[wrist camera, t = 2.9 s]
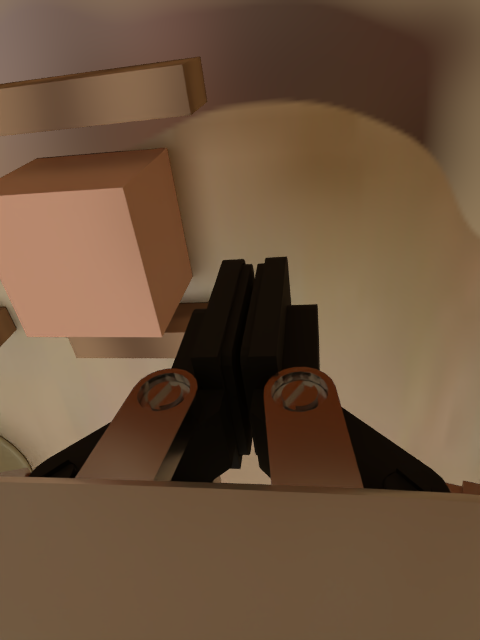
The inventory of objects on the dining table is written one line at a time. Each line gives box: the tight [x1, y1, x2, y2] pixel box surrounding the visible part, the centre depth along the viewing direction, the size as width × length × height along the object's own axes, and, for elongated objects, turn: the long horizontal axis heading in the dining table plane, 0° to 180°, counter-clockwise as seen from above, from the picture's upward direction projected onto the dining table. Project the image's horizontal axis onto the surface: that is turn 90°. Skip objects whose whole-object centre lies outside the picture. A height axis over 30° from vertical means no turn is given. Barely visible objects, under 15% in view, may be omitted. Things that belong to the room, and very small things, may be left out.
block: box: [0, 148, 193, 337], centre depth 19 cm, size 6×6×5 cm
